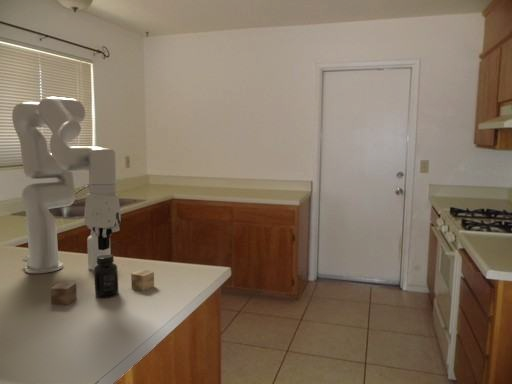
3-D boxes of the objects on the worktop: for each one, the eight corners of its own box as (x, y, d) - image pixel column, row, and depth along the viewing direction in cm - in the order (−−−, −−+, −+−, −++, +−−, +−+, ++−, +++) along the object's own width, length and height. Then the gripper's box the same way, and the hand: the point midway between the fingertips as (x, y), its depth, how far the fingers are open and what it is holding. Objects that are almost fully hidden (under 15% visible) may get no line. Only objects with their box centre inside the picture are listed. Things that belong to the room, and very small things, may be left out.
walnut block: (51, 305, 120) (50, 288, 119) (60, 298, 125) (59, 282, 124) (68, 305, 120) (67, 288, 119) (76, 298, 125) (75, 282, 124)
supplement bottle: (121, 290, 132) (120, 253, 131) (114, 298, 125) (113, 259, 124) (99, 290, 132) (97, 253, 130) (91, 298, 125) (89, 259, 124)
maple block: (131, 288, 134) (131, 273, 133) (142, 283, 138) (142, 269, 138) (143, 291, 132) (143, 276, 131) (154, 286, 136) (153, 271, 135)
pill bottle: (115, 265, 158) (114, 226, 156) (102, 271, 150) (100, 231, 149) (97, 263, 160) (95, 225, 158) (83, 269, 153) (81, 229, 151)
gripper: (73, 189, 123) (75, 249, 126) (116, 192, 119) (117, 255, 121) (90, 186, 130) (91, 243, 133) (131, 189, 126) (132, 248, 128)
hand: (103, 248), depth 127 cm, fingers closed
